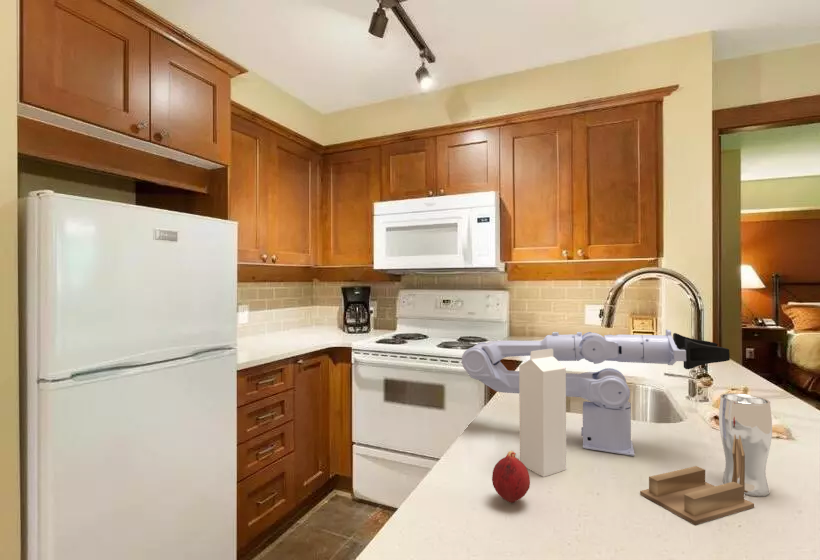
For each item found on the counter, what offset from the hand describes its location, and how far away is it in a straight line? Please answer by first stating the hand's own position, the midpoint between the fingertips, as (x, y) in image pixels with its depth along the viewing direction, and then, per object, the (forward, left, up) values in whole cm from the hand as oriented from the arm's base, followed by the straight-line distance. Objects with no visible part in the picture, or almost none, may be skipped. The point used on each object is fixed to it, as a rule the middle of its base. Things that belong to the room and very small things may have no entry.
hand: (722, 351), depth 79 cm
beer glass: (+1, -11, -21) cm, 24 cm away
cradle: (-8, -19, -21) cm, 30 cm away
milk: (-31, -17, -21) cm, 41 cm away
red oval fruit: (-34, -32, -21) cm, 51 cm away
